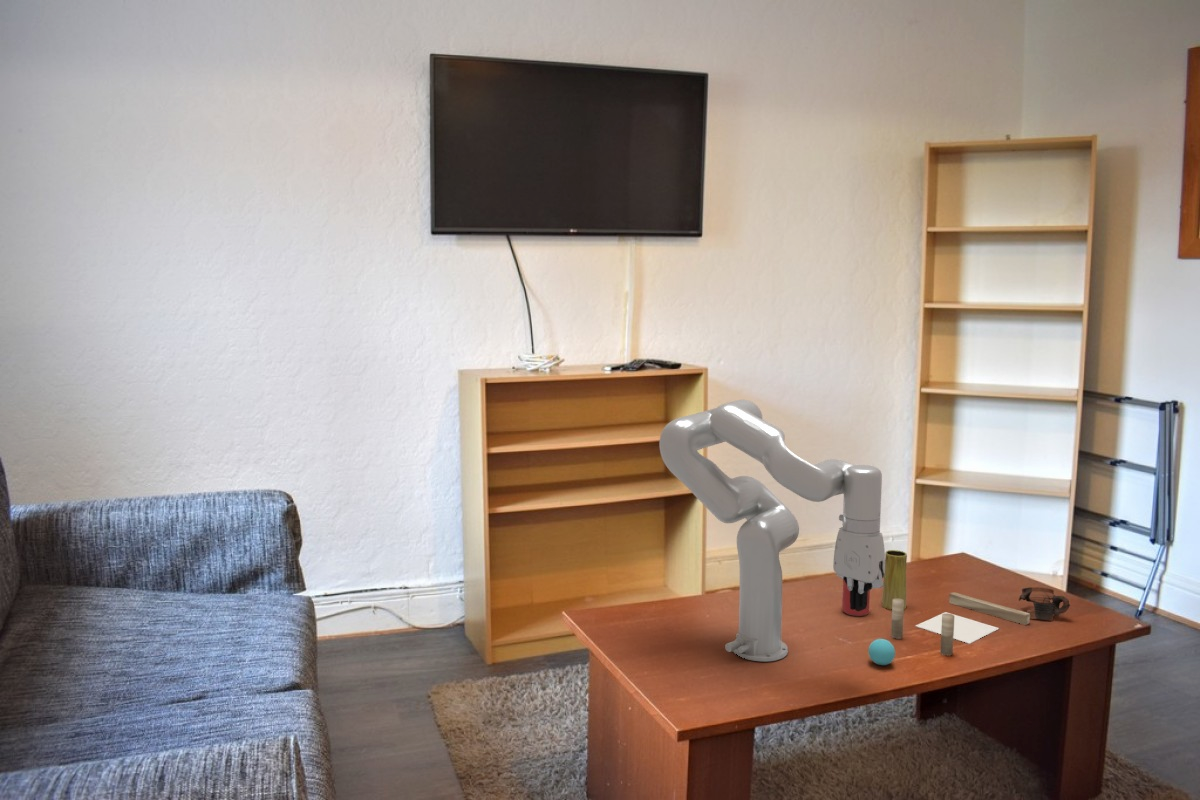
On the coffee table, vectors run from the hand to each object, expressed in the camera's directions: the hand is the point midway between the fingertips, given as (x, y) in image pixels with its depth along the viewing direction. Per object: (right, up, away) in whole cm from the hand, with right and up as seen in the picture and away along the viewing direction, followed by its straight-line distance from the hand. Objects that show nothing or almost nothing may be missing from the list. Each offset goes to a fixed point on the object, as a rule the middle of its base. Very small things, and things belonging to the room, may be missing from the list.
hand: (858, 608), depth 195 cm
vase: (+21, -9, +43) cm, 49 cm away
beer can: (+10, -10, +39) cm, 41 cm away
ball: (+7, -11, +8) cm, 16 cm away
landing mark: (+32, -11, +28) cm, 44 cm away
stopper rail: (+43, -10, +38) cm, 58 cm away
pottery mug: (+57, -10, +36) cm, 68 cm away
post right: (+24, -13, +13) cm, 30 cm away
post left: (+16, -12, +23) cm, 30 cm away
